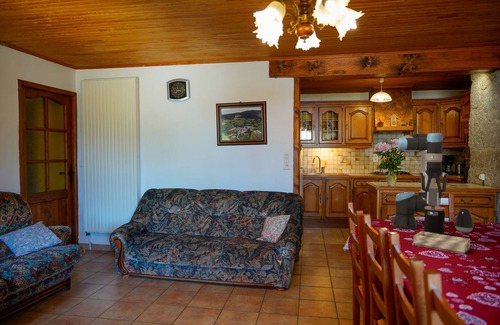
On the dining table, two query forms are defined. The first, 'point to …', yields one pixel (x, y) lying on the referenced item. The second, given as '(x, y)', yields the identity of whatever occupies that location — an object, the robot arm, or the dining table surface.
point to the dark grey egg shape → (464, 221)
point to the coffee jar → (434, 221)
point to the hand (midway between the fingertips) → (433, 203)
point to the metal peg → (432, 201)
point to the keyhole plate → (442, 242)
